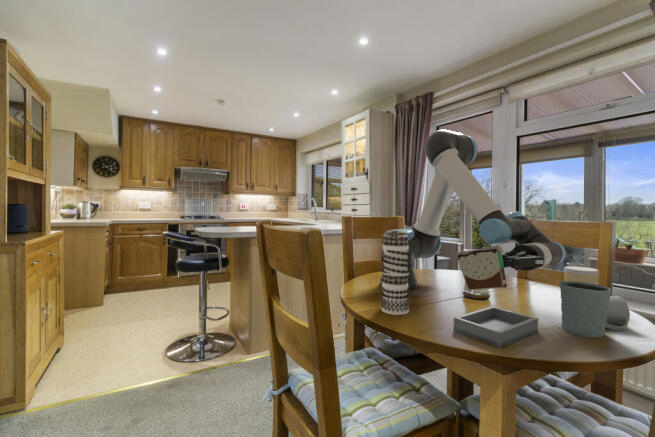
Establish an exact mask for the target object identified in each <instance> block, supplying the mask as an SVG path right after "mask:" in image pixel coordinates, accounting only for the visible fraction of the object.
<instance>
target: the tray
mask: <svg viewBox="0 0 655 437" xmlns="http://www.w3.org/2000/svg"><path fill="white" fill-rule="evenodd" d="M453 331H454V332H456V333H458V334H461V335H463V336H466V337H469V338H472V339H475V340H477V341H480V342H481V343H482V342H483V343H484V344H488V345H490V346H493V347H496V348H498V349H502V348H505V347H507V346H509V345H511V344H514V343H516V342H518V341H520V340H523V339H525V338H528V337H530V336H532V335H534V334H536V333H538V332H539V318H538V317H534V316H531V315H527V314H523V313H520V312H515V311H511V310H508V309H504V308H501V307H500V308H499V307H496V306H488V307H485V308H482V309H478V310H475V311H472V312H468V313H464V314H461V315H458V316H454V317H453Z"/></svg>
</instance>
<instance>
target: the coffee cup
mask: <svg viewBox="0 0 655 437" xmlns="http://www.w3.org/2000/svg"><path fill="white" fill-rule="evenodd" d="M563 271H564V274H563V276H564V281H574V282H584V283H591V284H596V285H599V278H600V274H601V273H600V271H599V269H598V268H593V267H587V266H576V265H575V266H572V265H571V266H570V265H569V266H565V267H564V268H563Z"/></svg>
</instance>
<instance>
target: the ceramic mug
mask: <svg viewBox="0 0 655 437" xmlns="http://www.w3.org/2000/svg"><path fill="white" fill-rule="evenodd" d="M629 308H630V307H629V306H628V303H627V302H626V300H625V298H623V297H621V296H619V295H610V301H609V306H608V308H607V312H608V313H607V319H606V322H605V324H606V325H605V329H608V330H611V331H616V332H624V331H626V330H627V329H628V325H629V322H630V316H631V313H630V309H629Z"/></svg>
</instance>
